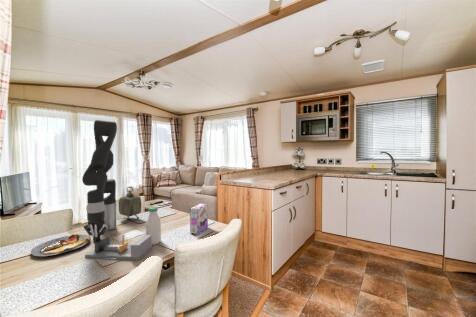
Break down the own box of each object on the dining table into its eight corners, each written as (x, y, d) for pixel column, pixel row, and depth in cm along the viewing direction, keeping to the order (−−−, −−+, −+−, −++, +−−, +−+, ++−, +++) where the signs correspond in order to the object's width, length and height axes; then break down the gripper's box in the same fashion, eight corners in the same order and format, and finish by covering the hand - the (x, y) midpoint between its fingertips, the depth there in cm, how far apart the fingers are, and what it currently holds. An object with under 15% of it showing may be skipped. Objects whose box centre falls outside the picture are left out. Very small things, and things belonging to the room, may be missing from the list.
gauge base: (85, 257, 104) (84, 242, 103) (103, 246, 115) (102, 233, 115) (138, 260, 101) (138, 245, 100) (151, 249, 113) (151, 235, 112)
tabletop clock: (141, 218, 162) (141, 186, 161) (131, 222, 153) (130, 188, 152) (128, 216, 168) (127, 185, 167) (118, 219, 159) (117, 187, 158)
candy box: (198, 235, 131) (197, 209, 130) (189, 233, 133) (189, 208, 132) (208, 227, 144) (208, 203, 144) (200, 226, 146) (200, 202, 145)
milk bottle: (163, 240, 123) (163, 206, 122) (154, 246, 116) (154, 210, 115) (153, 238, 126) (152, 205, 125) (143, 244, 118) (142, 209, 118)
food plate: (84, 234, 132) (83, 228, 131) (97, 245, 117) (96, 239, 117) (28, 250, 112) (27, 243, 112) (35, 265, 98) (34, 258, 97)
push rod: (94, 252, 105) (94, 242, 105) (106, 245, 113) (106, 235, 113) (117, 253, 104) (117, 243, 104) (127, 246, 112) (127, 236, 112)
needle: (119, 252, 105) (119, 236, 105) (125, 247, 110) (125, 232, 110) (121, 252, 105) (120, 236, 105) (127, 247, 110) (127, 232, 110)
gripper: (113, 208, 111) (113, 241, 112) (90, 207, 113) (90, 239, 113) (102, 213, 104) (103, 247, 105) (78, 212, 105) (78, 246, 106)
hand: (96, 243), depth 109 cm, fingers closed
